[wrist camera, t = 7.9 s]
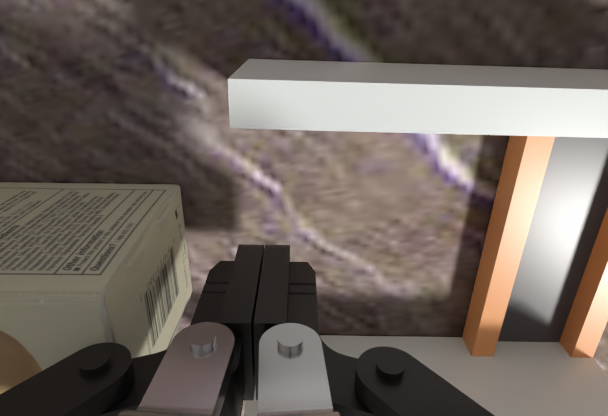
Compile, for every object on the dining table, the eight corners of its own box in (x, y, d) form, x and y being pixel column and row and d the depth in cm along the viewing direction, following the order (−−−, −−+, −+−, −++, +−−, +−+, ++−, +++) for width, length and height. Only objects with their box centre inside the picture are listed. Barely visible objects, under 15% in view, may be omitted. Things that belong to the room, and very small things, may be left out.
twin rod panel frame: (248, 58, 12) (227, 78, 8) (678, 71, 12) (834, 96, 9) (255, 354, 17) (243, 449, 13) (568, 358, 17) (642, 452, 13)
